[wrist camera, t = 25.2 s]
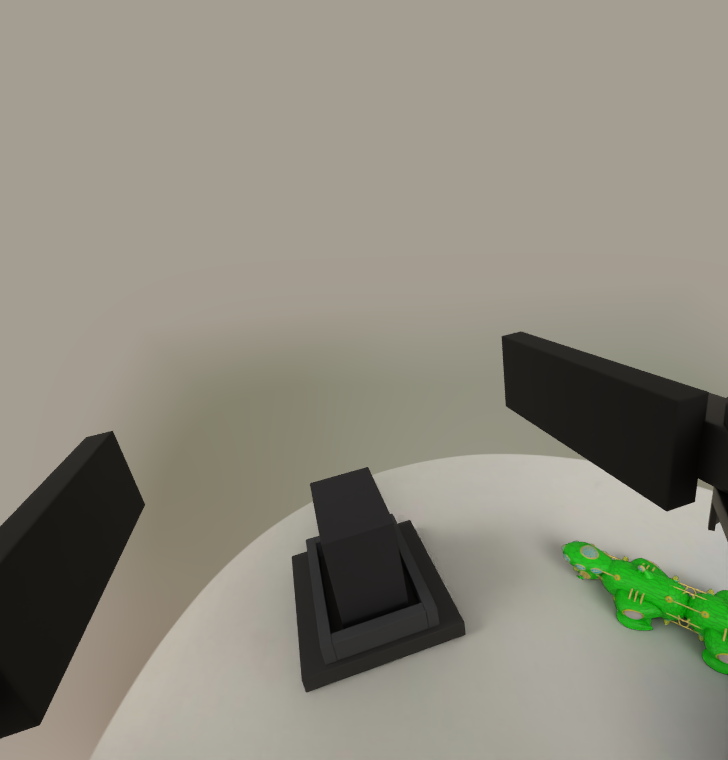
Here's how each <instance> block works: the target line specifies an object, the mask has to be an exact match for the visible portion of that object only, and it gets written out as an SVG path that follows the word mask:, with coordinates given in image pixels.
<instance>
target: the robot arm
mask: <svg viewBox="0 0 728 760" xmlns="http://www.w3.org/2000/svg"><path fill="white" fill-rule="evenodd" d="M502 347H503V348H502V349H503V366H504V382H505V399H506V406H507V407H508V408H510V409H511V410H513V411H514V412H516V413H517V414H519V415H520V416H522V417H524V418H525V419H526V420H528V421H529V422H531V423H532V424H534V425H536V426H537V427H539V428H540V429H542V430H543V431H545V432H546V433H548V434H549V435H551V436H552V437H554V438H556V439H557V440H558V441H560V442H562V443H563V444H565V445H566V446H568V447H569V448H571V449H572V450H574V451H575V452H577V453H578V454H580V455H581V456H583V457H584V458H586V459H587V460H589V461H590V462H592V463H593V464H595V465H597V466H598V467H600V468H601V469H603V470H604V471H606V472H607V473H609V474H610V475H612V476H613V477H615V478H616V479H618V480H619V481H621V482H622V483H624V484H626V485H627V486H629V487H630V488H632V489H633V490H635V491H636V492H638V493H639V494H641V495H642V496H644V497H645V498H647V499H648V500H650V501H651V502H653V503H655V504H656V505H658V506H659V507H661V508H662V509H664V510H665V511H670V510H672V509H675V508H678V507H681V506H684V505H687V504H690V503H693V502H695V497H696V489H697V481H698V478H699V479H700V480H702V481H704V482H706V483H708V484H710V485H712V486H714V489H713V496H712V502H711V509H710V516H709V523H708V530H712V531H715V525H716V524H717V523H719V522H720V523H721V526H722V528H723V531H724V533H725V536H726V538H727V541H728V397H727V398H724V397H720V396H718V395H715V394H711V393H709V392H707V391H704V390H700V389H697V388H694V387H691V386H688V385H685V384H682V383H679V382H676V381H673V380H669V379H666V378H663V377H660V376H657V375H654V374H651V373H648V372H645V371H641V370H639V369H635V368H632V367H629V366H626V365H623V364H620V363H617V362H614V361H611V360H608V359H604V358H601V357H598V356H595V355H592V354H589V353H586V352H582V351H580V350H576V349H574V348H570V347H567V346H564V345H561V344H558V343H555V342H552V341H549V340H546V339H543V338H539V337H536V336H533V335H530V334H527V333H524V332H518V333H513V334H509V335H505V336H502ZM144 506H145V504H144V501H143V499H142V497H141V494H140V492H139V490H138V487H137V485H136V483H135V481H134V478H133V476H132V474H131V471H130V469H129V467H128V465H127V462H126V460H125V458H124V455H123V453H122V451H121V449H120V446H119V444H118V442H117V440H116V437H115V435H114V433H113V431H111V432H106V433H102V434H98V435H94V436H90V437H86V438H85V439H84V440H83V441H82V442H81V443H80V445H78V446H77V447H76V448H75V449H74V451H72V452H71V454H70V455H69V456H68V457H67V458H66V459H65V460H64V461H63V462H62V463H61V464H60V465H59V466H58V467H57V468H56V469H55V470H54V471H53V472H52V473H51V474H50V475H49V476H48V477H47V478H46V480H45V481H44V482H43V483H42V484H41V485H40V486H39V487H38V488H37V489H36V490H35V491H34V492H33V493H32V494H31V495H30V496H29V497H28V498H27V499H26V500H25V501H24V502H23V503H22V504H21V506H20V507H19V508H18V509H17V510H16V511H15V512H14V513H13V514H12V515H11V516H10V517H9V518H8V519H7V520H6V521H5V522H4V523H3V524H2V525H1V526H0V738H3V737H6V736H9V735H12V734H15V733H18V732H21V731H24V730H27V729H30V728H33V727H36V726H39V725H40V724H41V722H42V720H43V717H44V715H45V713H46V711H47V709H48V707H49V705H50V703H51V701H52V698H53V696H54V694H55V692H56V690H57V688H58V686H59V684H60V682H61V680H62V678H63V676H64V673H65V671H66V669H67V667H68V665H69V663H70V661H71V659H72V657H73V655H74V652H75V650H76V648H77V646H78V644H79V642H80V640H81V638H82V636H83V634H84V631H85V629H86V627H87V625H88V623H89V621H90V619H91V617H92V615H93V613H94V611H95V609H96V606H97V604H98V602H99V600H100V598H101V596H102V594H103V592H104V590H105V588H106V585H107V583H108V581H109V579H110V577H111V575H112V573H113V571H114V569H115V566H116V564H117V562H118V560H119V558H120V556H121V554H122V552H123V550H124V547H125V546H126V543H127V541H128V539H129V537H130V535H131V533H132V531H133V529H134V527H135V525H136V522H137V520H138V518H139V516H140V514H141V512H142V510H143V508H144Z"/></svg>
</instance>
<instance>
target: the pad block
mask: <svg viewBox="0 0 728 760" xmlns="http://www.w3.org/2000/svg"><path fill="white" fill-rule="evenodd" d="M310 486H311V491H312V497H313V503H314V508H315V514H316V519H317V524H318V530H319V535H320V541H321V546H322V550H323V553H324V557H325V561H326V565H327V568H328V572H329V576H330V579H331V583H332V587H333V591H334V594H335V598H336V602H337V606H338V609H339V613H340V617H341V621H342V624H343V628H344V629H346V628H349V627H352V626H355V625H358V624H361V623H364V622H366V621H369V620H372V619H375V618H378V617H381V616H384V615H387V614H390V613H393V612H396V611H398V610H401V609H404V608H407V607H409V602H408V597H407V591H406V586H405V581H404V575H403V570H402V564H401V559H400V554H399V548H398V543H397V537H396V532H395V527H394V522H393V520H392V518H391V516H390V513H389V511H388V509H387V507H386V505H385V503H384V501H383V498H382V496H381V494H380V492H379V490H378V488H377V485H376V483H375V481H374V479H373V477H372V475H371V473H370V470H369V468H368V467H366V468H363V469H359V470H356V471H352V472H349V473H345V474H341V475H338V476H334V477H331V478H327V479H324V480H321V481H317V482H313V483H311V484H310Z"/></svg>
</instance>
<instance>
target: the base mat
mask: <svg viewBox="0 0 728 760" xmlns="http://www.w3.org/2000/svg"><path fill="white" fill-rule="evenodd" d="M390 516H391V518H392V520H393V522H394V527H395V532H396V537H397V543H398V548H399V554H400V559H401V564H402V570H403V575H404V581H405V586H406V591H407V597H408V602H409V607H407V608H404V609H401V610H398V611H396V612H393V613H390V614H387V615H384V616H381V617H378V618H375V619H372V620H369V621H366V622H364V623H361V624H358V625H355V626H352V627H349V628H346V629H344V628H343V624H342V621H341V617H340V613H339V609H338V606H337V602H336V598H335V594H334V591H333V587H332V583H331V579H330V576H329V572H328V568H327V565H326V561H325V557H324V553H323V550H322V546H321V541H320V536H317V537H313V538H310V539H307V540H306V545H307V552H304V553H301V554H298V555H295V556H292V564H293V577H294V589H295V601H296V613H297V626H298V638H299V650H300V662H301V675H302V682H303V685H304V688H305V691H306V692H308V691H311V690H314V689H317V688H319V687H322V686H325V685H328V684H330V683H333V682H336V681H339V680H341V679H344V678H347V677H350V676H352V675H355V674H358V673H361V672H363V671H366V670H369V669H372V668H374V667H377V666H380V665H383V664H385V663H388V662H391V661H394V660H396V659H399V658H402V657H405V656H407V655H410V654H413V653H416V652H418V651H421V650H424V649H427V648H429V647H432V646H435V645H438V644H440V643H443V642H446V641H449V640H451V639H454V638H457V637H460V636H462V635H465V627H464V621H463V619H462V617H461V616H460V614H459V612H458V610H457V608H456V606H455V604H454V602H453V600H452V599H451V597H450V595H449V593H448V591H447V589H446V587H445V585H444V583H443V582H442V580H441V578H440V576H439V574H438V572H437V570H436V568H435V566H434V565H433V563H432V561H431V559H430V557H429V555H428V553H427V551H426V549H425V548H424V546H423V544H422V542H421V540H420V538H419V536H418V534H417V532H416V530H415V529H414V527H413V525H412V523H411V521H410V520H408V521H405V522H402V523H398V524H397V522H396V520H395V518H394V516H393V514H390Z"/></svg>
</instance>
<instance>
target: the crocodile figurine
mask: <svg viewBox="0 0 728 760" xmlns="http://www.w3.org/2000/svg"><path fill="white" fill-rule="evenodd" d="M562 550H563V554H564V559H565V560H566V561H568V562H569V563H570V564H571V565H573V566H574V567H573V569H574V570H576V571H578V572H579V573H580V576H581V577H580V576H578V577H579V579H580V578H581V579H583V578H587V579H600V578H602V579H600V580H601V581H602V582H603V585H604V586H605V588H606V589H607V590H608V592H610V593H611V594H612V595H613V597H614V598H613V599H615V600H614V601H615V605H616V608H617V610H618V611H617V618H618V620H619V621H620V623H622V624H623V625H624V626H626V627H628V628H630V629H635V630H653V628H652V627H651V620H652V618H657V617H661V618H664V619H663V620H665V621H664V624H665V625H668V624H669V623H670V621H671V622H673V623H676V622H674V621H672V620H675V621H676V620H678V622H679V623H676V624H678V625H680V626H682V627H685V628H687V629H689V630H691V631H693V632H696V633H698V636H700V637H699V640H700V641H703V640H704V643H705V646H706V649H705V650H703V652H702V656H703V659H704V661H705V662H706V664H707V665H708V666H710V667H711V668H712V669H714V670H716V671H717V672H720V673H723V674H727V675H728V591H727V590H722V591H719V592H717V593H716V594H715V595H714V594H713V593H714V592H712V591H713V590H712V589H709V590H710V591H709V590H708V592H707V593H705V592H702V591H700V590H697V589H695V588H692V587H690V586H687V585H684V584H682V583H679V579H678V577H677V576H674V577H673V578H672V579H671V578H668V576H667V575H666V574H665V573H664V572H663V571H662V570H660V568H659V567H658V566H657V565H656V564H655V563H653V562H650V561H648V560H645V559H643V558H638V559H635V560H633V561H632V562H628V561H627V560H628V558H627V557H625V558H623V559H622V560H621V559H618V558H616V557H613V556H610V555H609V554H608V553H607V552H605V551H601V550H599V549H598V548H597V547H596V546H595V545H593V544H589V543H586V542H579V541H573V542H571V543H568V544H566V545H563V546H562ZM611 558H615V559H616V560H612V559H611ZM617 559H618V560H617ZM599 577H600V578H599ZM682 585H684V586H686V588H684V587H683V586H682ZM687 588H692V589H693V590H694V594H692V593H690V592H687V591H686V590H687ZM695 590H697V591H699V592H702V593H698V594H697V593H696V591H695ZM689 594H691V595H692V596H691V597H690V596H689ZM685 617H686V619H687V620H685V619H683V618H685ZM680 620H682V621H684V622H687V623H688V625H687V626H683V625H681V623H680ZM668 622H669V623H668ZM667 623H668V624H667ZM689 626H691V627H692V628H693V629H694V630H695V631H694V630H692V629H690V628H688V627H689Z"/></svg>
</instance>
